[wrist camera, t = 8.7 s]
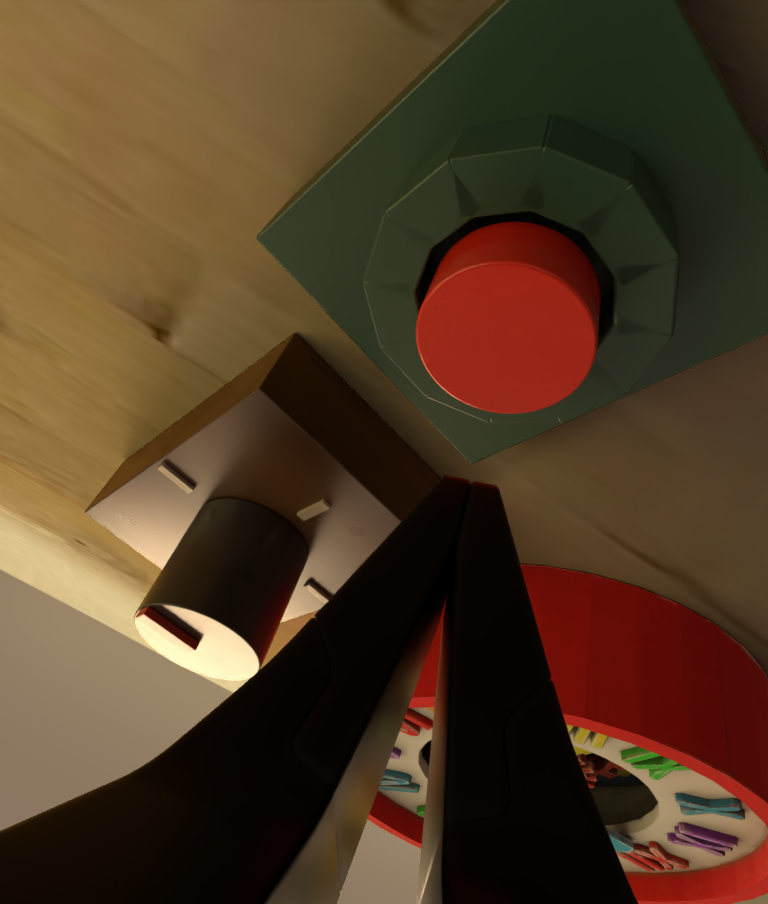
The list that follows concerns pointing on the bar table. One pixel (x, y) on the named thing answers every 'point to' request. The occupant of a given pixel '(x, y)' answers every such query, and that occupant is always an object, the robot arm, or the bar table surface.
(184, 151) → the bar table surface
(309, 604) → the dial panel
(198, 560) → the pointer knob
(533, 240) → the red push button
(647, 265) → the button box
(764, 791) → the toy clock
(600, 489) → the bar table surface
